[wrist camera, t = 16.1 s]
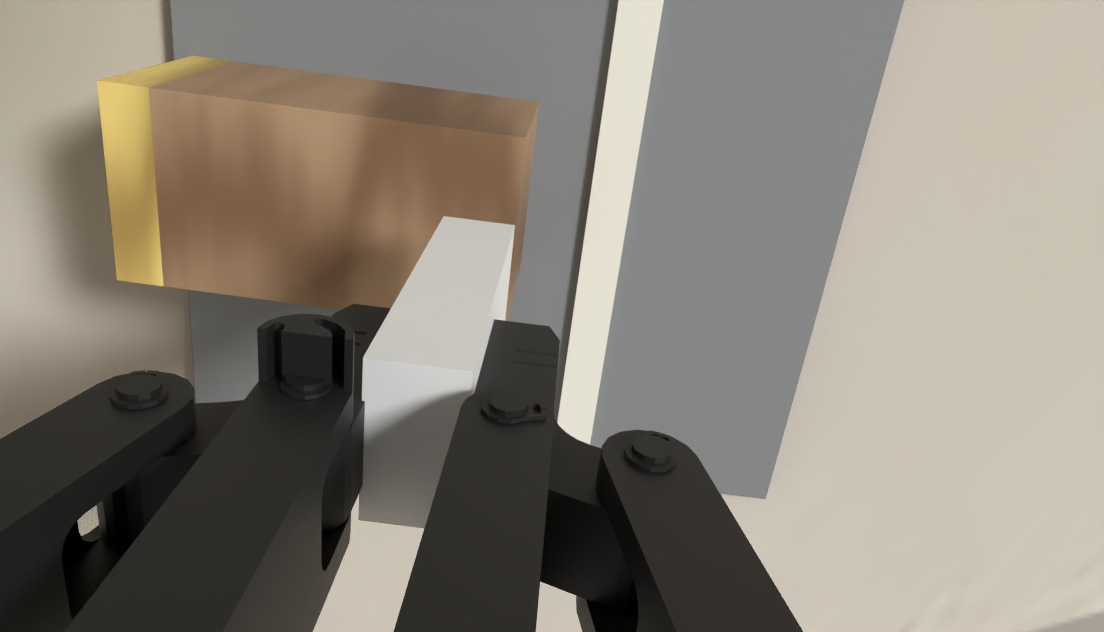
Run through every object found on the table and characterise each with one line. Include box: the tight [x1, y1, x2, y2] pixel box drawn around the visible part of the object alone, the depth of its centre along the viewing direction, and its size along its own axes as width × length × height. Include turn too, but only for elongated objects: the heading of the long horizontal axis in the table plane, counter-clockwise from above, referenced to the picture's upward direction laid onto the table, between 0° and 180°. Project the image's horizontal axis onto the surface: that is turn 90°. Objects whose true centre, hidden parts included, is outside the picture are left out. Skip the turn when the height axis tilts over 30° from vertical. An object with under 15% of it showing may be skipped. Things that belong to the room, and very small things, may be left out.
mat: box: [170, 0, 904, 499], centre depth 25 cm, size 20×20×1 cm
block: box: [97, 56, 539, 321], centre depth 22 cm, size 5×5×10 cm
